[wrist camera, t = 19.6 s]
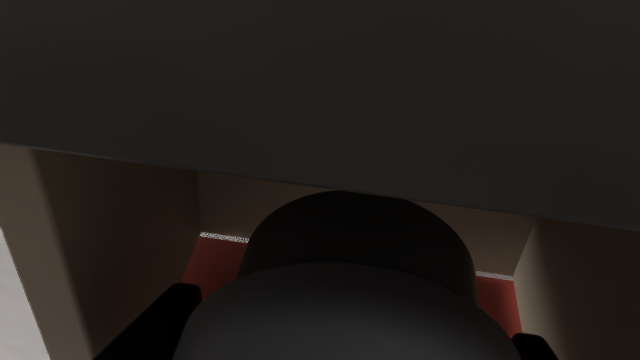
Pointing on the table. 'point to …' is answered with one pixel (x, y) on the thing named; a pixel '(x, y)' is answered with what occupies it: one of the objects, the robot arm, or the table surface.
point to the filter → (348, 289)
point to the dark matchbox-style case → (344, 95)
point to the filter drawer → (241, 220)
